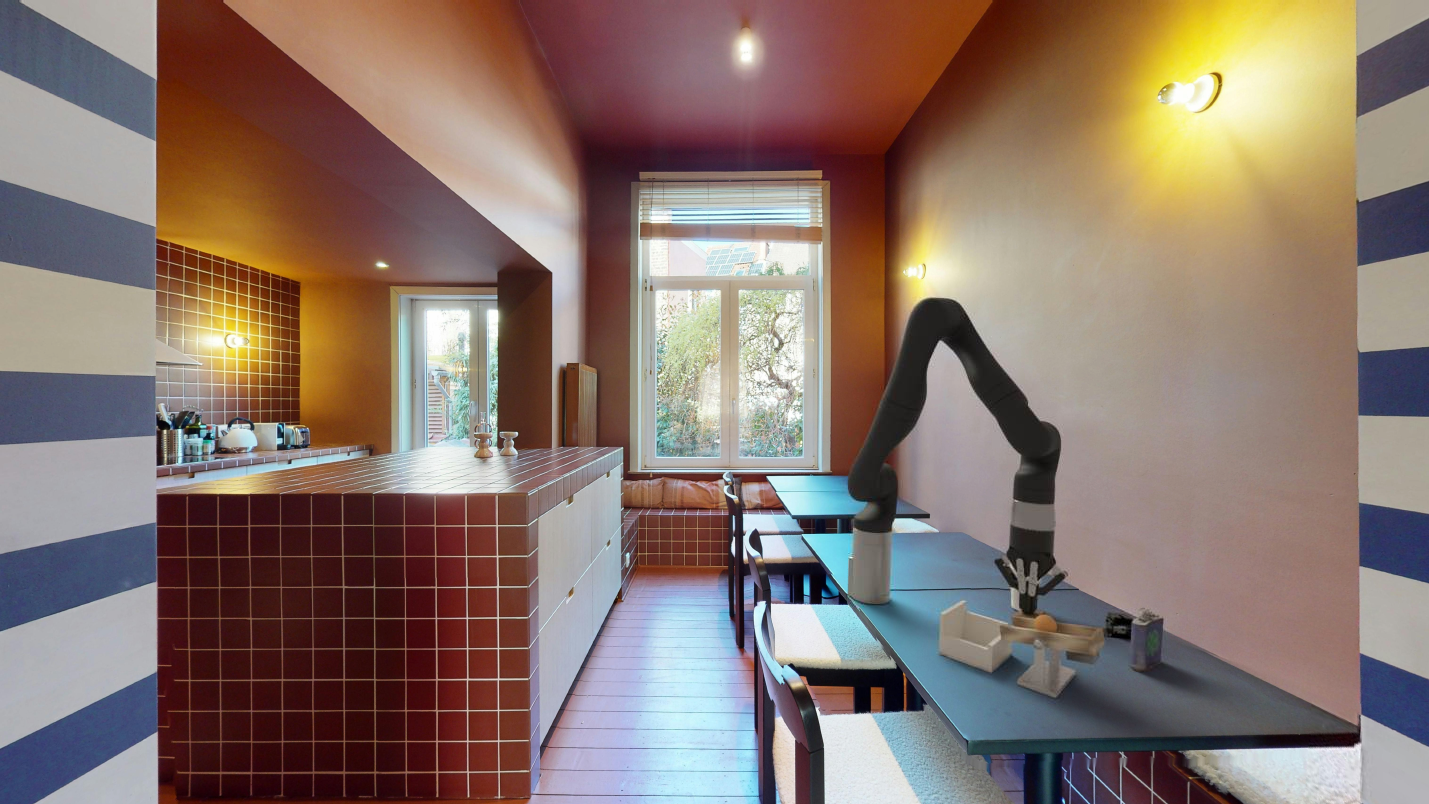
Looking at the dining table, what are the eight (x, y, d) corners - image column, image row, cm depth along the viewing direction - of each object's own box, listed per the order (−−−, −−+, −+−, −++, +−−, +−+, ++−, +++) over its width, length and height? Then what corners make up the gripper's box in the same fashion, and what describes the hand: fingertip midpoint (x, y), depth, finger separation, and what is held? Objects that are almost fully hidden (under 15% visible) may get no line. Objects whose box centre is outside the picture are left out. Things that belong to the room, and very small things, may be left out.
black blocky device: (1094, 639, 120) (1095, 618, 120) (1079, 626, 127) (1080, 605, 127) (1161, 646, 117) (1162, 625, 117) (1142, 632, 124) (1143, 611, 124)
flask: (1141, 673, 104) (1144, 616, 104) (1123, 666, 107) (1126, 610, 107) (1164, 662, 109) (1166, 607, 109) (1146, 656, 112) (1148, 602, 111)
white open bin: (938, 653, 110) (940, 613, 110) (961, 638, 117) (962, 600, 117) (991, 673, 103) (993, 629, 103) (1011, 654, 110) (1013, 614, 110)
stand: (1017, 684, 99) (1019, 635, 99) (1039, 662, 108) (1040, 617, 107) (1055, 698, 95) (1057, 647, 95) (1075, 674, 103) (1077, 627, 103)
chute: (1002, 650, 103) (999, 625, 104) (1025, 631, 112) (1023, 607, 113) (1096, 668, 93) (1092, 640, 93) (1114, 644, 102) (1110, 619, 102)
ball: (1056, 624, 99) (1049, 641, 99) (1062, 619, 101) (1055, 636, 102) (1035, 613, 101) (1028, 630, 102) (1041, 608, 103) (1035, 625, 104)
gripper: (989, 520, 111) (984, 607, 112) (1065, 534, 102) (1060, 629, 102) (1002, 515, 116) (998, 598, 117) (1076, 528, 107) (1072, 618, 107)
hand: (1027, 612), depth 109 cm, fingers closed
